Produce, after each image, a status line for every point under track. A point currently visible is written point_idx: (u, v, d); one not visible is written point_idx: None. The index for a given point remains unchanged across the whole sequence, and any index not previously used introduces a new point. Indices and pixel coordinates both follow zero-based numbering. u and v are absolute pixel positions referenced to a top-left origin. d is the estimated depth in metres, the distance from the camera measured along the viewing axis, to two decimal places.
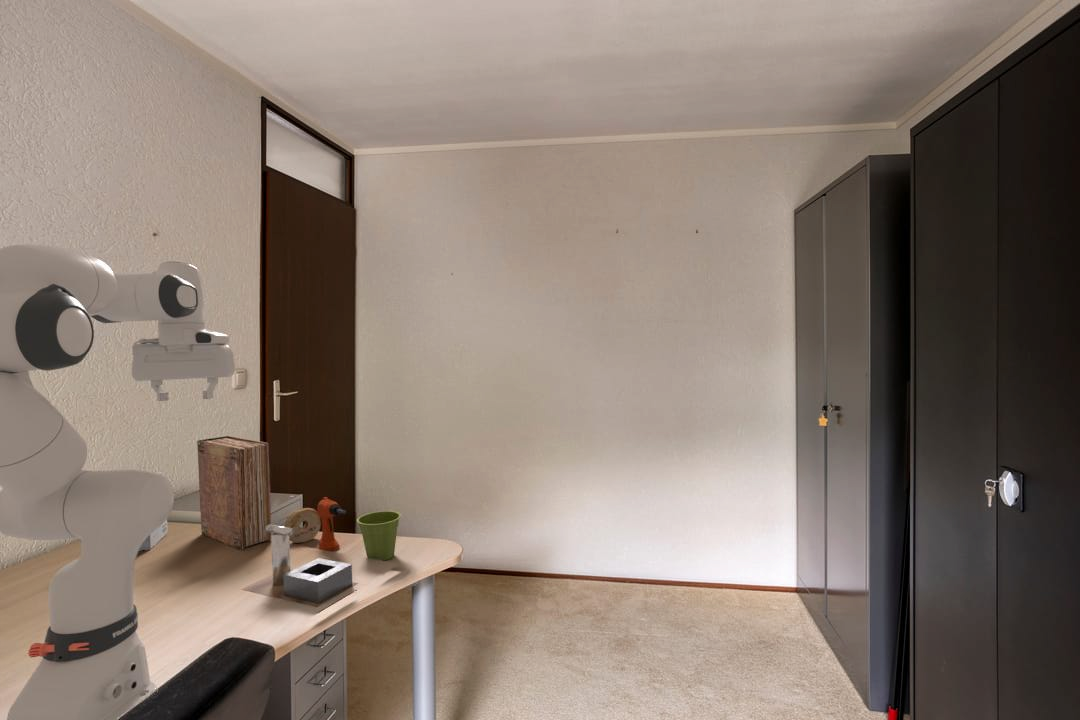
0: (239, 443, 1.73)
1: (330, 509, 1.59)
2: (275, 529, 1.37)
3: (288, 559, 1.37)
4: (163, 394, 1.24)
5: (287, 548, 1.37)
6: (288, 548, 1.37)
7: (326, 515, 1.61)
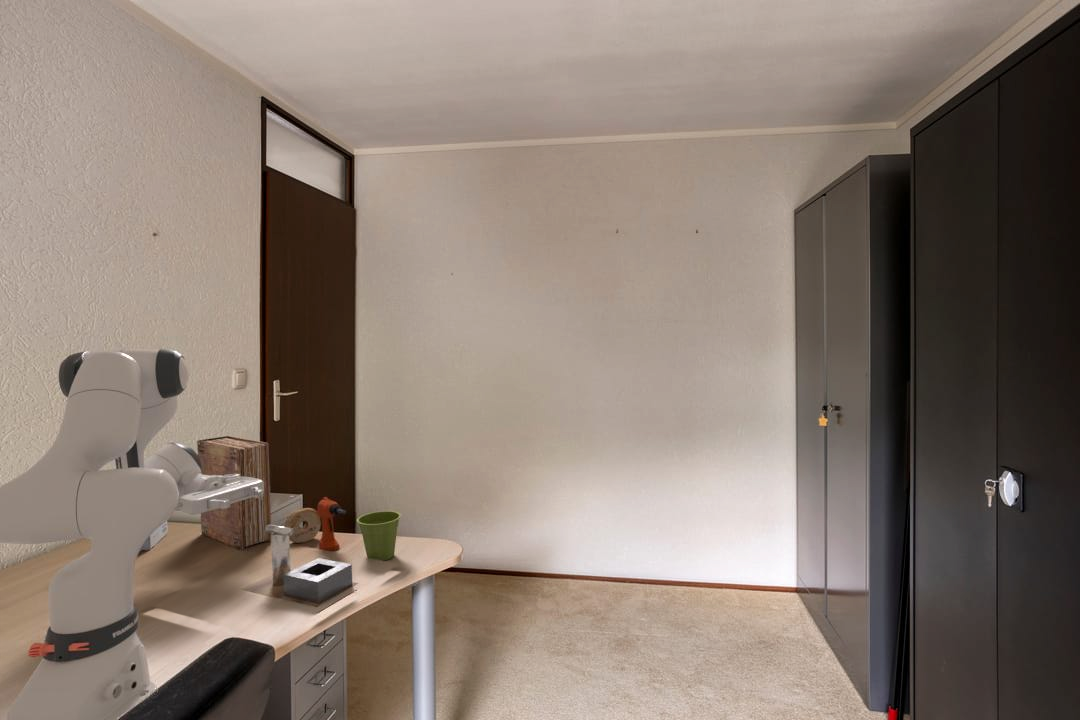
0: (239, 443, 1.73)
1: (330, 509, 1.59)
2: (275, 529, 1.37)
3: (288, 559, 1.37)
4: (225, 499, 1.39)
5: (287, 548, 1.37)
6: (288, 548, 1.37)
7: (326, 515, 1.61)
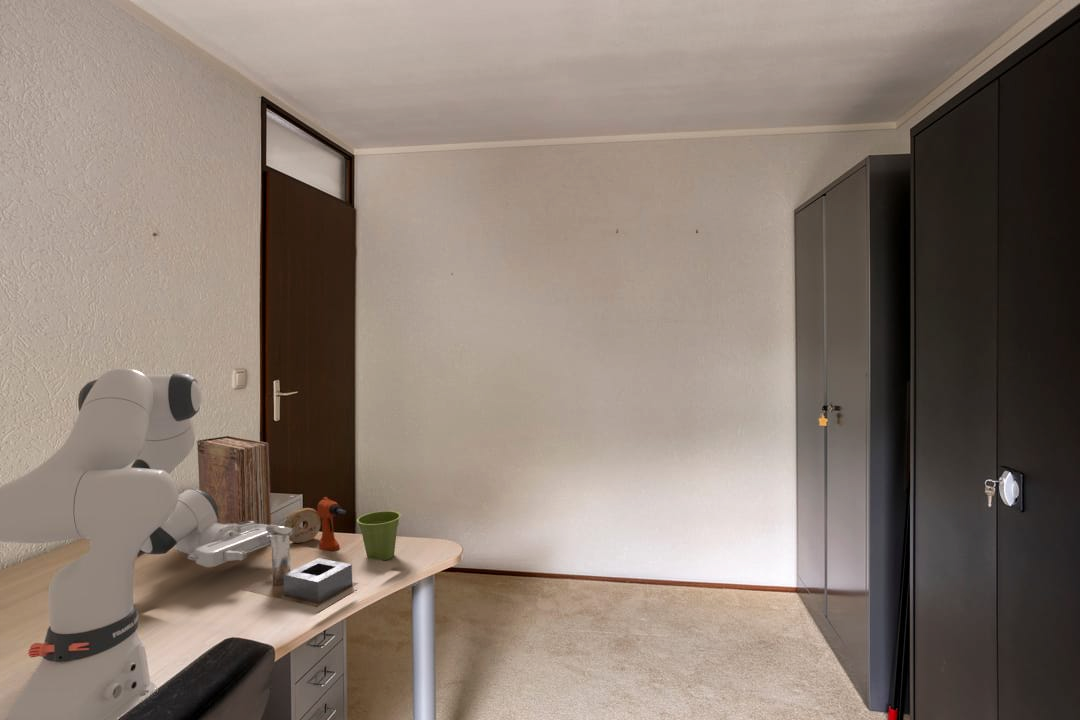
0: (239, 443, 1.73)
1: (330, 509, 1.59)
2: (275, 529, 1.37)
3: (288, 559, 1.37)
4: (241, 550, 1.37)
5: (287, 548, 1.37)
6: (288, 548, 1.37)
7: (326, 515, 1.61)
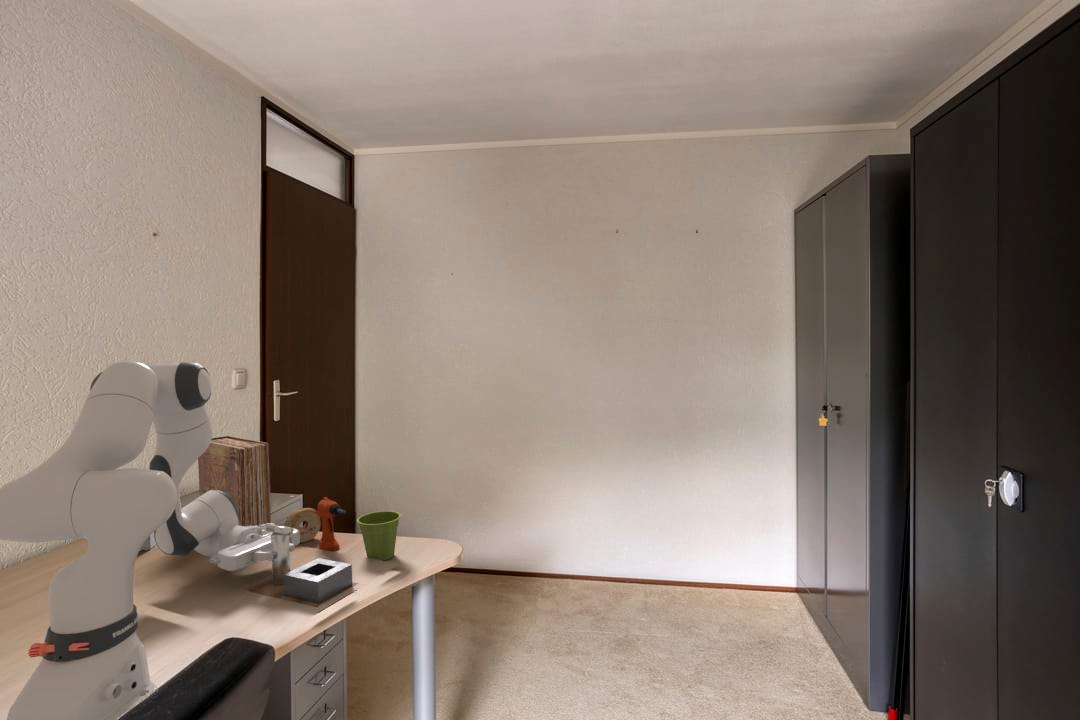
0: (239, 443, 1.73)
1: (330, 509, 1.59)
2: (275, 529, 1.37)
3: (288, 559, 1.37)
4: (271, 551, 1.36)
5: (287, 548, 1.37)
6: (288, 548, 1.37)
7: (326, 515, 1.61)
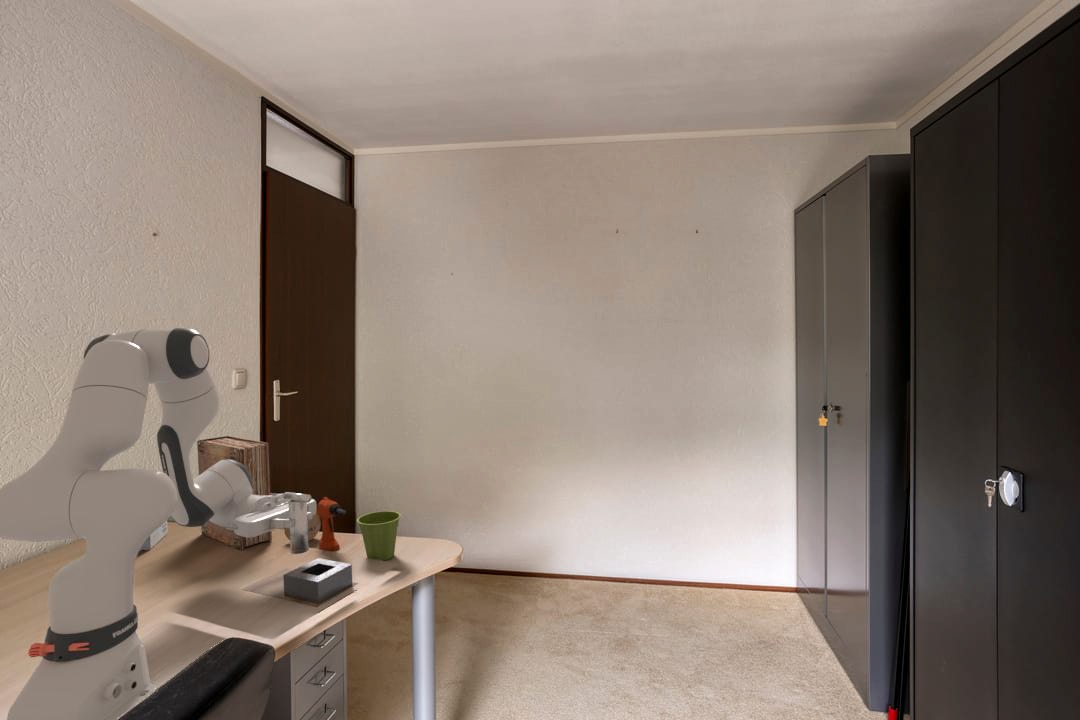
0: (239, 443, 1.73)
1: (330, 509, 1.59)
2: (292, 496, 1.34)
3: (306, 527, 1.34)
4: (289, 518, 1.33)
5: (305, 516, 1.34)
6: (306, 516, 1.34)
7: (326, 515, 1.61)
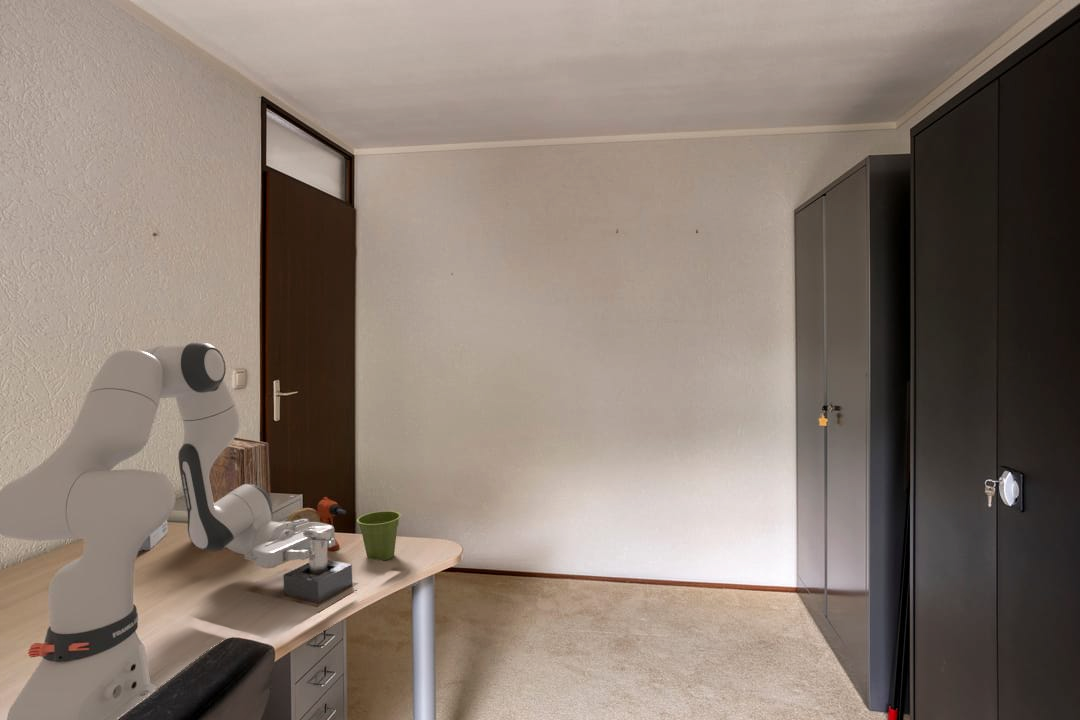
0: (239, 443, 1.73)
1: (330, 509, 1.59)
2: (313, 534, 1.33)
3: (326, 566, 1.33)
4: (304, 549, 1.30)
5: (325, 554, 1.32)
6: (326, 554, 1.33)
7: (326, 515, 1.61)
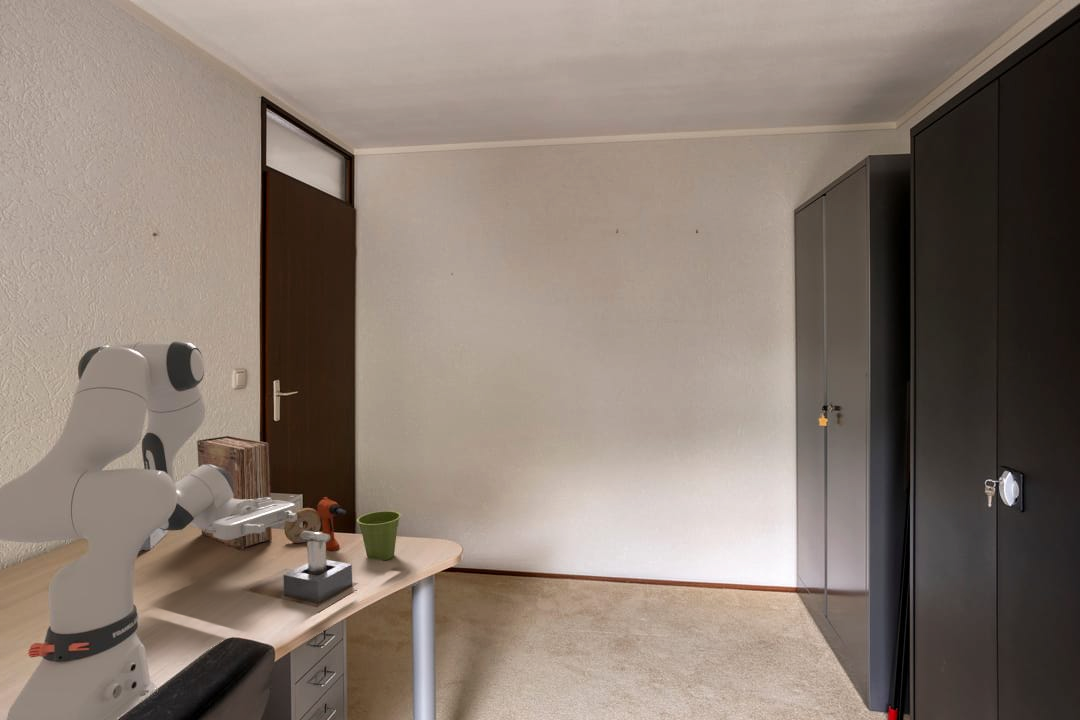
0: (239, 443, 1.73)
1: (330, 509, 1.59)
2: (311, 535, 1.32)
3: (325, 566, 1.32)
4: (260, 524, 1.34)
5: (324, 555, 1.32)
6: (325, 555, 1.33)
7: (326, 515, 1.61)
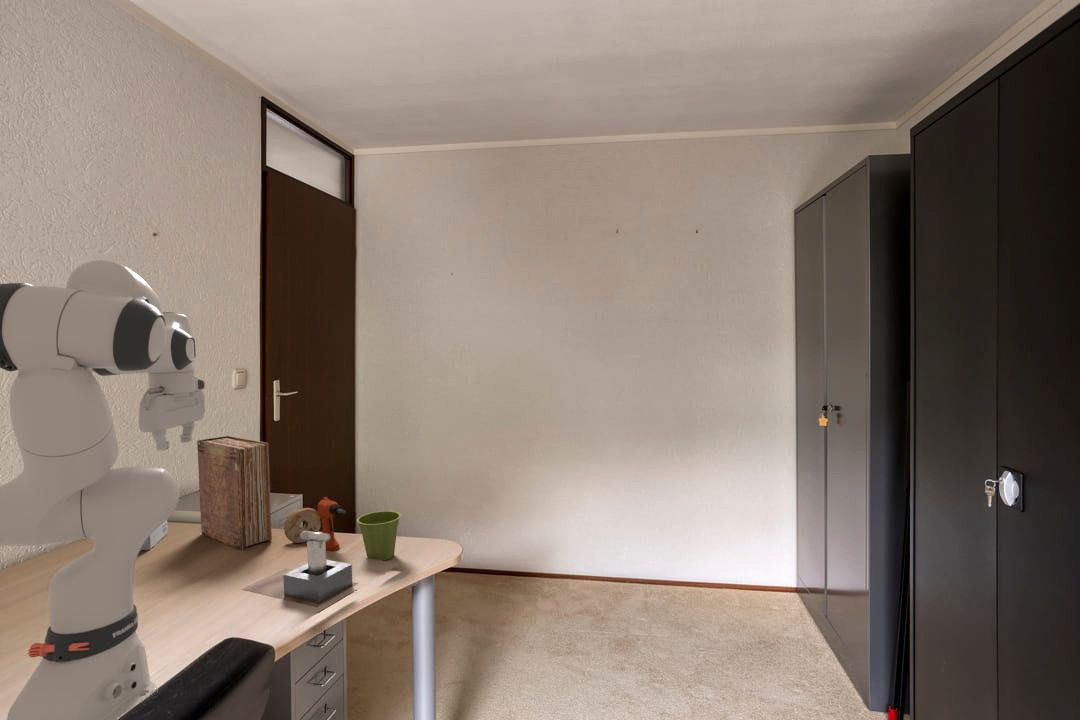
0: (239, 443, 1.73)
1: (330, 509, 1.59)
2: (311, 535, 1.32)
3: (325, 566, 1.32)
4: (168, 442, 1.24)
5: (324, 555, 1.32)
6: (325, 555, 1.33)
7: (326, 515, 1.61)
